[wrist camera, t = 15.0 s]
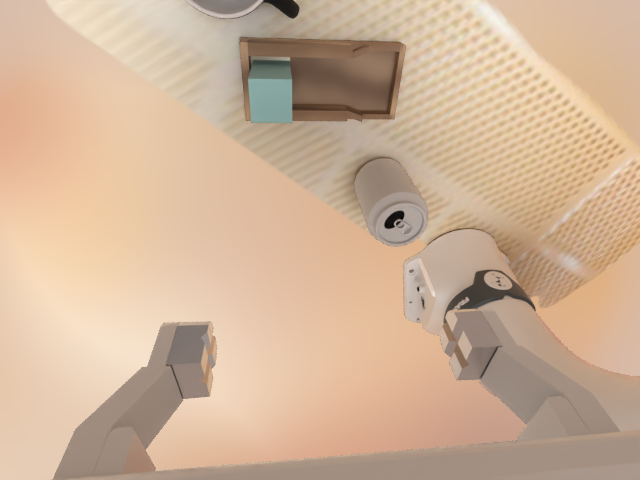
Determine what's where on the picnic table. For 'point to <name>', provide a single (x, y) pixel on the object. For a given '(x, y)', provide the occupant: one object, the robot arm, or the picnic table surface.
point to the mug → (241, 7)
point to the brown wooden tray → (332, 76)
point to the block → (270, 91)
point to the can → (390, 202)
